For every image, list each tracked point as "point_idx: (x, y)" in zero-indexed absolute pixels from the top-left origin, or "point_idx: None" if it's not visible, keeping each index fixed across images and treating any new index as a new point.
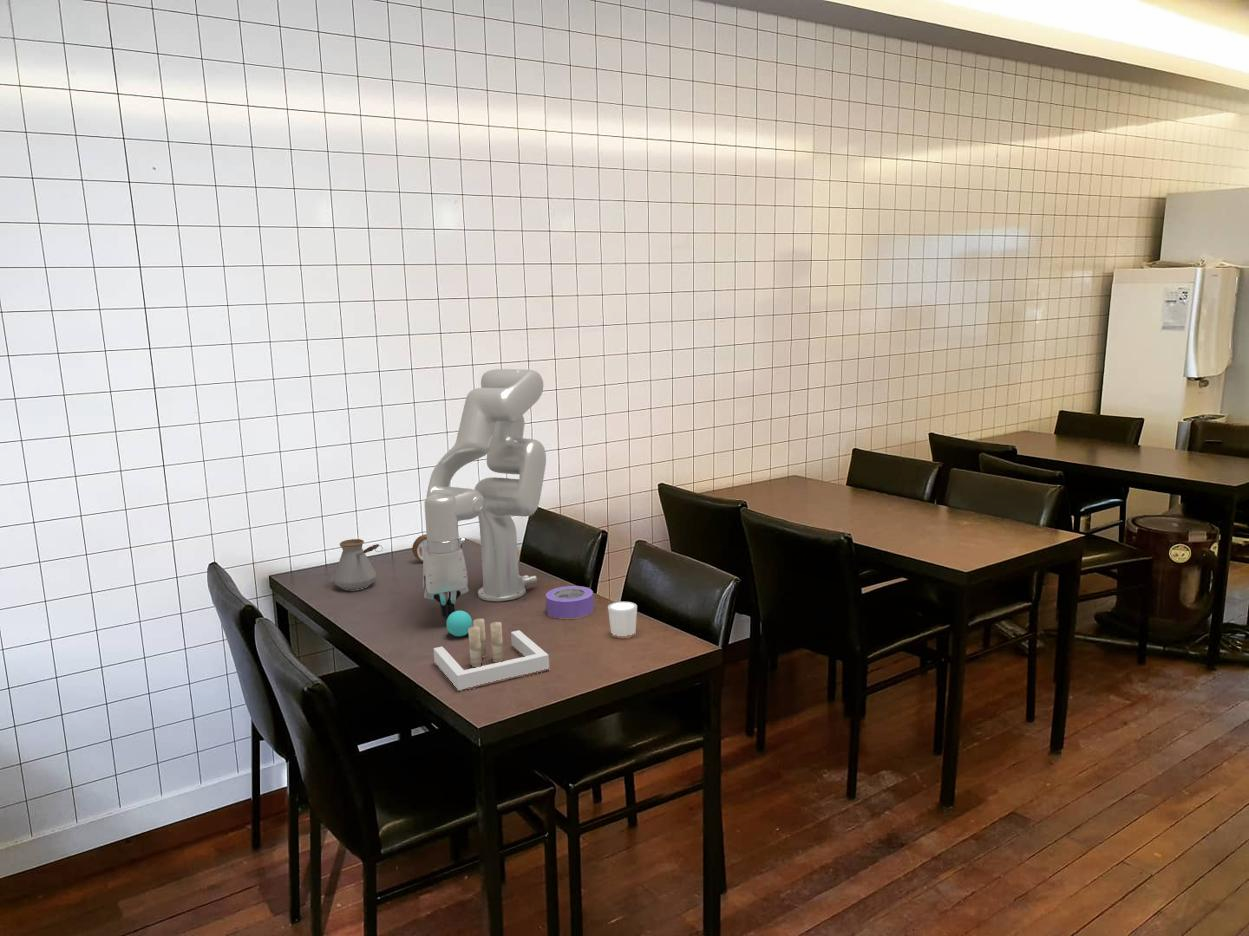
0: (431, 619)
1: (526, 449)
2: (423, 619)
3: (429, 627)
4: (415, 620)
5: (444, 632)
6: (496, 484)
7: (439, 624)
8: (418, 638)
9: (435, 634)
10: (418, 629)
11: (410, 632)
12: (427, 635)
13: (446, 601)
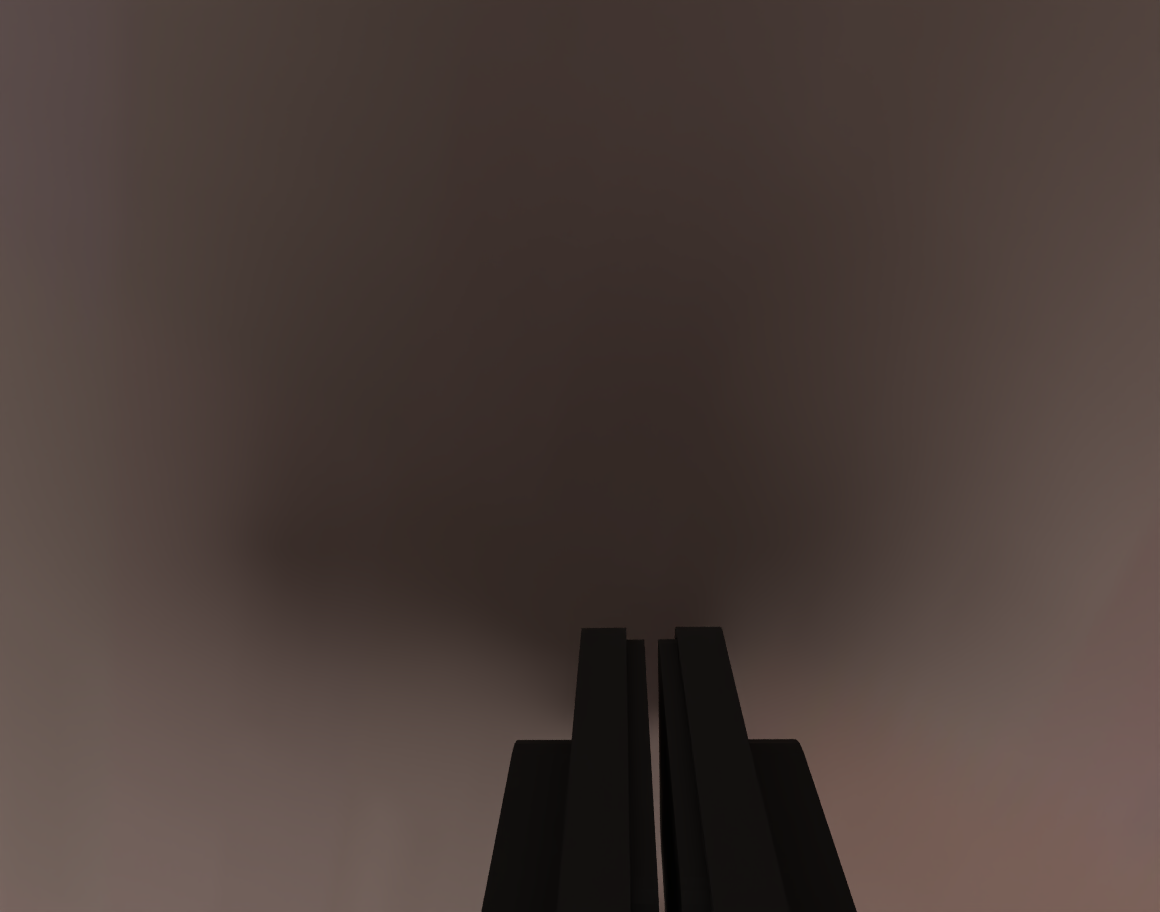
0: (425, 208)
1: None
2: (269, 119)
3: (331, 597)
4: (105, 94)
5: None
6: None
7: (514, 549)
8: (138, 903)
9: (377, 887)
10: (149, 594)
11: (23, 653)
12: (265, 869)
13: (713, 895)
